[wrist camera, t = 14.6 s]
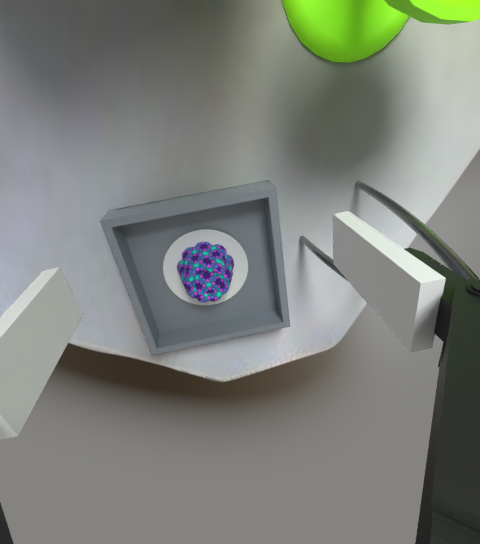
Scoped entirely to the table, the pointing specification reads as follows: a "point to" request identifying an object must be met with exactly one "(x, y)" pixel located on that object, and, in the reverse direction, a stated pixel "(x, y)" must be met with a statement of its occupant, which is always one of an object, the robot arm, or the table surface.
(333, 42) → the wineglass
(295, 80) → the table surface
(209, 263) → the pudding
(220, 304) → the bin
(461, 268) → the juicer
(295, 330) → the table surface
